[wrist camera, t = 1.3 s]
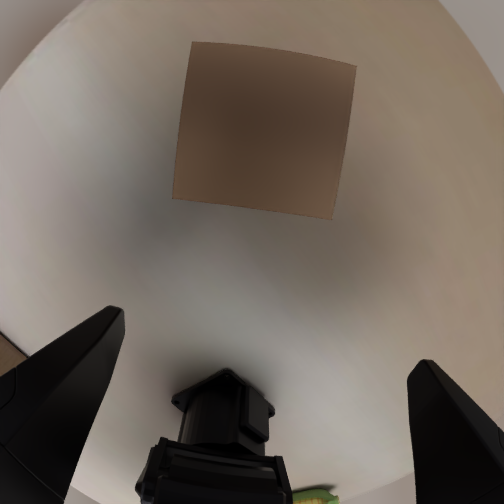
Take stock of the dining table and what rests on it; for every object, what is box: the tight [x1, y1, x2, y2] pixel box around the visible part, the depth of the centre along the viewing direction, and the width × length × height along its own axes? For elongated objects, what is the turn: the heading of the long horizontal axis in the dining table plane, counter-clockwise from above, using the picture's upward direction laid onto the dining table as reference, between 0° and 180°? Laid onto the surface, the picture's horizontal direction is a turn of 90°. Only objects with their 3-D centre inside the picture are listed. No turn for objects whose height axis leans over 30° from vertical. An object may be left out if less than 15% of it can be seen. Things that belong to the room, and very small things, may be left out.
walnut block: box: [172, 42, 357, 220], centre depth 13 cm, size 5×5×9 cm
